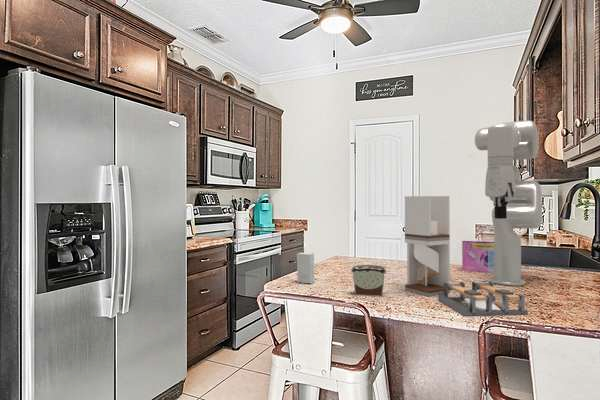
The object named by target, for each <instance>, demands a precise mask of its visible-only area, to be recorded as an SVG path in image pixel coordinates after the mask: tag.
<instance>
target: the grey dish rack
mask: <svg viewBox="0 0 600 400" xmlns="http://www.w3.org/2000/svg"><path fill="white" fill-rule="evenodd" d="M459 283H460V284H461V285H462V287H464V288H465V287H466V283H464V282H462V281H460V282H459ZM477 283H478V282H475V281H472V282H471V290H475V291H477V292H478V290H477ZM487 283H490V285H491V286H492V287H494V283H493V282H491V281H488V282H487ZM487 292H488V291H487ZM484 296H485V297H487V301H486V311H475V297H474V296H470V308H469V307H468V305H465V304H463V303H461V301H463V302H464V299H465V298H469V297H467V296H465V295H463V294H461V293H459V296H449V293H448V284H447V283H443V293H438V295H437V301H439V302H441V303H442V304H444V305H446V306H447V307H449V308H450V309H452V310H453V311H456V312H458V313H459V314H460V315H463V316H464V317H480V316H481V317H482V316H484V317H485V316H514V315H515V316H517V315H518V316H519V315H529V310H527V309H525V299H526V297H525V295H523V294H518V295H517V296H519V297H520V300H517V302H518V307H517V309H509V300H508V296H507V295H502V297H501V300H502V301H501V307H502V309H500V310H492V302H493V301H496V296H494V294H493V293H490V292H488V295H484ZM459 301H460V302H459Z"/></svg>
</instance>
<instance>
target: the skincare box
mask: <svg viewBox="0 0 600 400" xmlns="http://www.w3.org/2000/svg"><path fill="white" fill-rule="evenodd" d="M296 265H297V266H296V268H297V271H296V272H297V275H296V276H297V283H298V282H301V283H300V284H304V283H310V284H309V285H312V284H314V283H315V282H316V281H315V253H312V252H298V253H296ZM313 282H314V283H313ZM311 283H312V284H311Z"/></svg>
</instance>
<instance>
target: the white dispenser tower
mask: <svg viewBox="0 0 600 400" xmlns="http://www.w3.org/2000/svg"><path fill="white" fill-rule="evenodd" d="M450 218H451V217H450V196H449V195H442V196H441V195H440V196H437V195H436V196H433V195H432V196H431V195H422V196H421V195H417V196H416V195H413V196H412V195H411V196H408V195H407V196H406V195H405V196H404V243H405V244H406V247H407V248H406V251H407V252H406V253H407V254H406V255H407V256H406V258H407V261H406V263H407V265H406V267H407V268H406V269H407V270H406V272H407V273H406V275H407V277H406V278H407V279H406V280H407V282H406V284H405V285H404V290H405V291H407V292H411V293H414V294H418V295H420V296H421V295H422V296H426V297H428V298H431V297H435V296H438V293H443V283H447V284H451V283H450V282H451V281H450V280H451V279H450V278H451V277H450V275H451V273H450V272H451V270H450V269H451V267H450V266H451V265H450V264H451V261H450V260H451V259H450V257H451V256H450V255H451V252H450V251H451V249H450V245H451V244H450V243H451V240H450V232H451V231H450V228H451V227H450V221H451V220H450ZM450 293H451V290H448V294H450Z"/></svg>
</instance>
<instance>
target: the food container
mask: <svg viewBox="0 0 600 400" xmlns="http://www.w3.org/2000/svg"><path fill="white" fill-rule="evenodd" d="M350 273H352V276H353V277H352V278H353V285H354V295H355V296H364V297H365V296H366V297H368V296H369V297H383V294H384V293H383V292H384V285H385V284H384V282H385V274H387V271H386V267H384V266H382V265H376V264H375V265H374V264H358V265H357V264H356V265H353V266H352V268H351V271H350Z"/></svg>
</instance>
